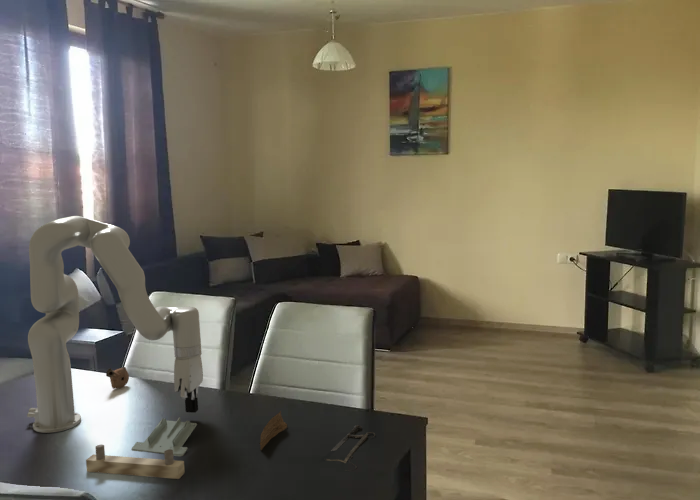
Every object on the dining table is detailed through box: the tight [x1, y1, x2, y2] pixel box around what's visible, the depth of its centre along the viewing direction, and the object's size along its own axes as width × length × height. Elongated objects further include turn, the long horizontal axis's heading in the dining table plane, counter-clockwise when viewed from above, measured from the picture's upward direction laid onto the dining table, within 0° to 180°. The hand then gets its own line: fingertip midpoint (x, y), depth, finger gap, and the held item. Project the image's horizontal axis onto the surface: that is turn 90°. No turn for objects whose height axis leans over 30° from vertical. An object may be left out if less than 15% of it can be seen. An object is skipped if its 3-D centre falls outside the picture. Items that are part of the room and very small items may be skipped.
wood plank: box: [259, 410, 288, 451], centre depth 172 cm, size 15×2×5 cm, turn 164°
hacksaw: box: [325, 424, 376, 472], centre depth 166 cm, size 24×10×1 cm, turn 155°
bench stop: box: [85, 444, 186, 480], centre depth 154 cm, size 24×3×6 cm, turn 80°
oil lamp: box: [105, 366, 130, 390], centre depth 211 cm, size 9×4×8 cm, turn 154°
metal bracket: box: [130, 417, 198, 457], centre depth 170 cm, size 14×6×15 cm
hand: (192, 411), depth 185 cm, fingers closed
